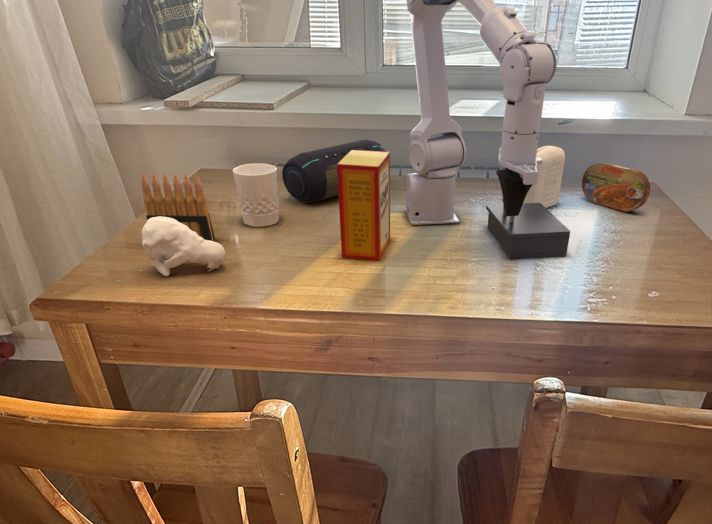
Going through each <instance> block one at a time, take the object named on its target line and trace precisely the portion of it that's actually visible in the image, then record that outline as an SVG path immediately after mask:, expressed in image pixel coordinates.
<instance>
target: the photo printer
mask: <svg viewBox="0 0 712 524" xmlns="http://www.w3.org/2000/svg"><path fill="white" fill-rule="evenodd" d="M536 157H540V158H541V159H542V160H543V163H542V164H540V165H537V171H538V172H539V174H538V182H537V184H533V185H532V186H531V188H530V190H529V191H528V193H527V195H526V197H525V200H524V202H523V203H541V204H542V205H543V206H544V207H545V208H546V209H548V208H551V207H553V206H556V205H557V204H558V203H559V199H560V193H561V188H562V187H561V186H562V180H563V174H564V168H565V162H566V154H565V151H564V149H563V148H561V147H559V146H555V145H544V146H540V147H539V148H538V147H537V155H536Z"/></svg>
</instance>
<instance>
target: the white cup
mask: <svg viewBox="0 0 712 524" xmlns="http://www.w3.org/2000/svg"><path fill="white" fill-rule="evenodd" d="M277 168H278V167H276V166H275V165H274V164H269V163H257V162H256V163H246V164H241V165H238V166H235V167H234V168H233V169H232V174H233V175H232V176H233V180H234V185H235V190H236V195H237V198H238V203H239V207H240V208H239V209H240V210H241V214H242V219H243V224H245V225H247V226H249V227H255V228H262V227H264V228H265V227H269V226H270V227H271V226H273V225H275V224H278V222H279V221H280V211H279V206H280V204H279V202H280V201H279V186H278V184H279V183H278V182H279V181H278V170H277Z"/></svg>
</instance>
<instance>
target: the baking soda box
mask: <svg viewBox="0 0 712 524" xmlns="http://www.w3.org/2000/svg"><path fill="white" fill-rule="evenodd" d="M337 177H338V195H337V196H338V211H339V212H338V213H339V231H340V246H341V247H340V248H341V259H352V260H366V261H375V262H377V261H378V262H380V261H381V259H382V257H383V255H384V253H385V251H386V250H387V247H388V245H389V244H390V241H391V152H390V151H386V152H380V151H364V150H351V151H350V152H349V153H348V154H347V155H346V156H345V157H344V158H343V159H342V160H341V161H340V162H339V163H338V164H337Z"/></svg>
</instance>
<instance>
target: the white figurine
mask: <svg viewBox="0 0 712 524" xmlns="http://www.w3.org/2000/svg"><path fill="white" fill-rule="evenodd" d="M141 241H142V243H141V248H142V249H143V250H144V251H145V254H146V256H147V259H148V260H150V262H151V264H152V265H153V267H154V268H155V269H156V270H157V271H158V273H160V274H161V275H162V276H164V277H169V276H170V274H171V269H173V268H177V267H178V266H181V265H183V264H191V263H194V262H196V263H204V264H206V265H205V266H207V267H205V268H206V269H208V272H210V271H212V270H214V269H217V270H219V268H220V266H221V264H222V263H223V262H224V261H225V260H226V250H225V248H224V246H223V245H222V244H220V243H219V242H217V241H215V240H214V241H210V240H204V239H203V238H202V237H200V236H198V234H197V233H196V232H194V231H192V230H190V229H189V227H187V226H186V225H184V224H182V223H180V222H178V221H177V220H175V219H173V218H169V217H162V216H158V217H152V218H150V219H148V220H147V219H146V222H145V223H144V225H143V227H142V230H141Z"/></svg>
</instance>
